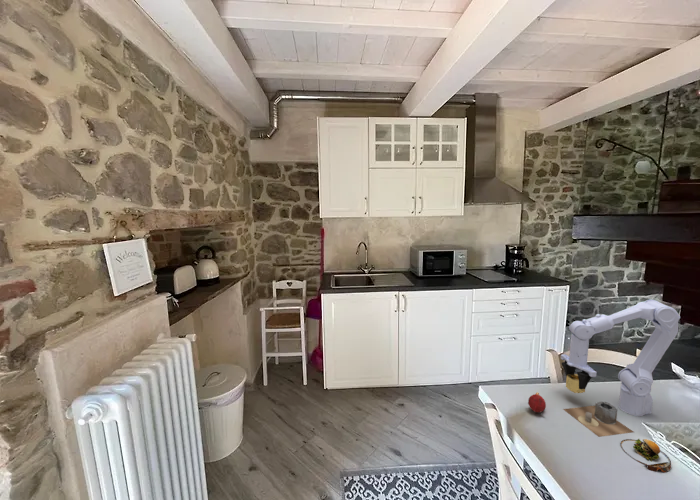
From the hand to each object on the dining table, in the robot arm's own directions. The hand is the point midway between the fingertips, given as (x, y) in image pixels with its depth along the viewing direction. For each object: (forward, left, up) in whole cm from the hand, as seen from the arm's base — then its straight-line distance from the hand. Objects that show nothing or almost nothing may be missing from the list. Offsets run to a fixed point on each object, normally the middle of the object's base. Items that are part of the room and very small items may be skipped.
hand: (575, 384), depth 125 cm
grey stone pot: (-2, +11, -7) cm, 13 cm away
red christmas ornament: (+18, +2, -9) cm, 20 cm away
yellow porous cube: (0, 0, -2) cm, 2 cm away
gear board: (+1, +11, -8) cm, 14 cm away
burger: (+1, +27, -9) cm, 29 cm away
